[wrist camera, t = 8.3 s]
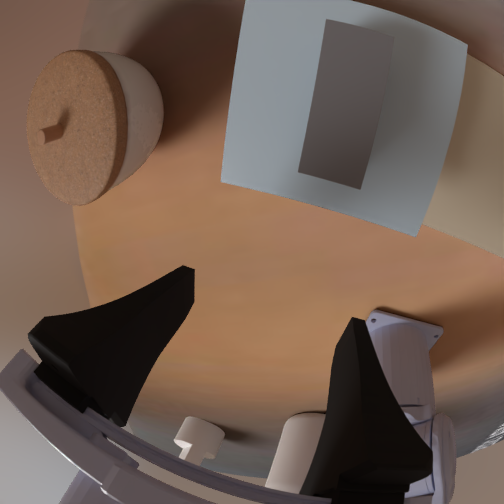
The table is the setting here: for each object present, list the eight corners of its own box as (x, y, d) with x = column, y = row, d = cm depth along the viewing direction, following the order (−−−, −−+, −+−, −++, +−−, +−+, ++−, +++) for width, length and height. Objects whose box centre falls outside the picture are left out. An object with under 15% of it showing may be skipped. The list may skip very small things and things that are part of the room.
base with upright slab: (191, 412, 46) (165, 461, 37) (231, 432, 46) (209, 481, 37) (181, 421, 52) (159, 463, 42) (217, 439, 52) (197, 481, 42)
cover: (413, 232, 13) (430, 274, 10) (224, 178, 15) (189, 205, 12) (463, 46, 7) (500, 34, 4) (251, -8, 9) (219, -37, 6)
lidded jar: (192, 44, 15) (96, 28, 8) (187, 178, 21) (106, 231, 14) (93, 62, 18) (7, 74, 10) (96, 167, 23) (21, 206, 16)
